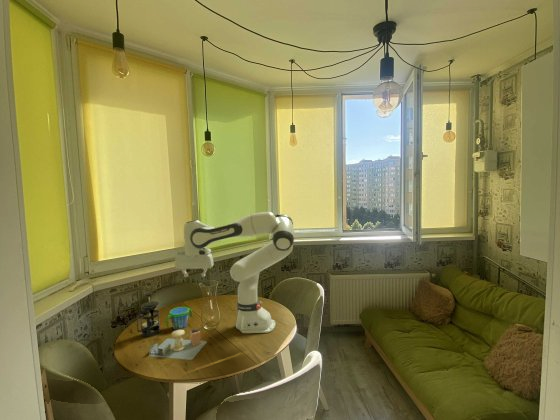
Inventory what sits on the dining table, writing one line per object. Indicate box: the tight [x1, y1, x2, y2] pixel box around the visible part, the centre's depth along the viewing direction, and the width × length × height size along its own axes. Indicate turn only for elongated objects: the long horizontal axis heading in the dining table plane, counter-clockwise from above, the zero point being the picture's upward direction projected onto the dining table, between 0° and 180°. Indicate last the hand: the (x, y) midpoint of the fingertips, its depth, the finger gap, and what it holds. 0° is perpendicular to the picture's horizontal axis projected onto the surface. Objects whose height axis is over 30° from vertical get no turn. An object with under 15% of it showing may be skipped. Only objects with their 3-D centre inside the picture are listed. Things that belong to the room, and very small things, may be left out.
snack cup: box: [165, 306, 194, 331], centre depth 161 cm, size 16×10×10 cm
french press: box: [136, 292, 161, 338], centre depth 153 cm, size 12×9×23 cm
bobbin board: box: [147, 329, 208, 361], centre depth 137 cm, size 22×16×9 cm
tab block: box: [189, 327, 202, 346], centre depth 141 cm, size 4×4×7 cm
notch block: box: [148, 342, 171, 356], centre depth 134 cm, size 8×5×3 cm, turn 80°
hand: (194, 276), depth 151 cm, fingers open, 8 cm apart
